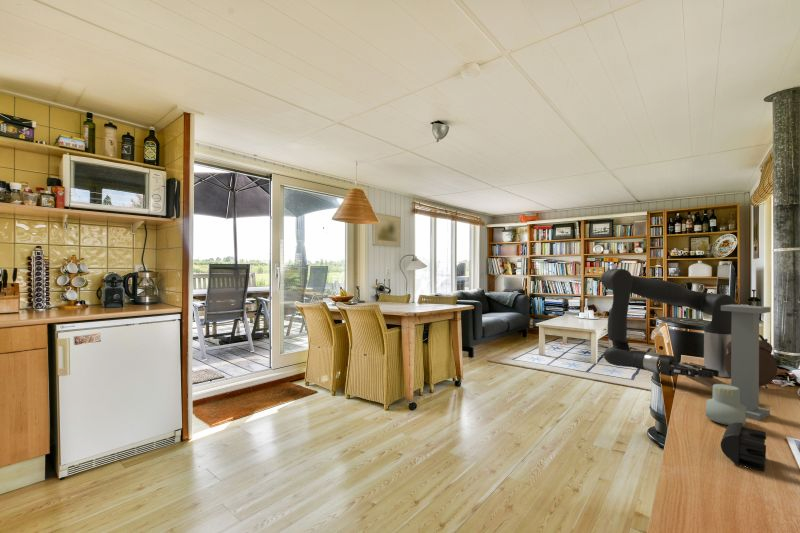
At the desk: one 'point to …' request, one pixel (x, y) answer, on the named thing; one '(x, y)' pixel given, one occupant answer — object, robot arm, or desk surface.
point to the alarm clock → (765, 362)
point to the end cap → (745, 446)
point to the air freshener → (726, 405)
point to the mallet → (707, 381)
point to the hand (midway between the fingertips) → (715, 374)
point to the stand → (746, 356)
